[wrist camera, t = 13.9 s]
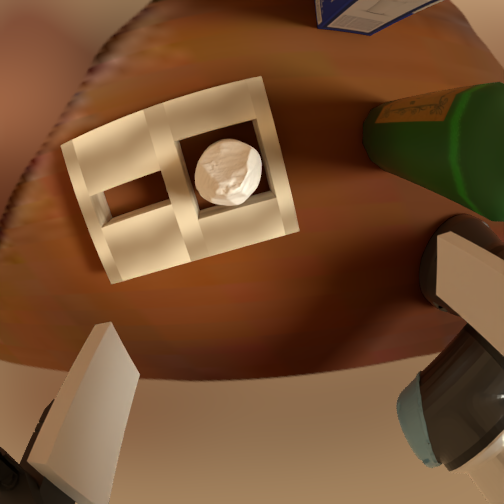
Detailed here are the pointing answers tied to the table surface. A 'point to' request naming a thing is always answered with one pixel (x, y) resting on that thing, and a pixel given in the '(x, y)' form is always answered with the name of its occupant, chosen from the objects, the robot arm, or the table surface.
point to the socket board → (176, 182)
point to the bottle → (445, 144)
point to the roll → (228, 172)
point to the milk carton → (365, 14)
